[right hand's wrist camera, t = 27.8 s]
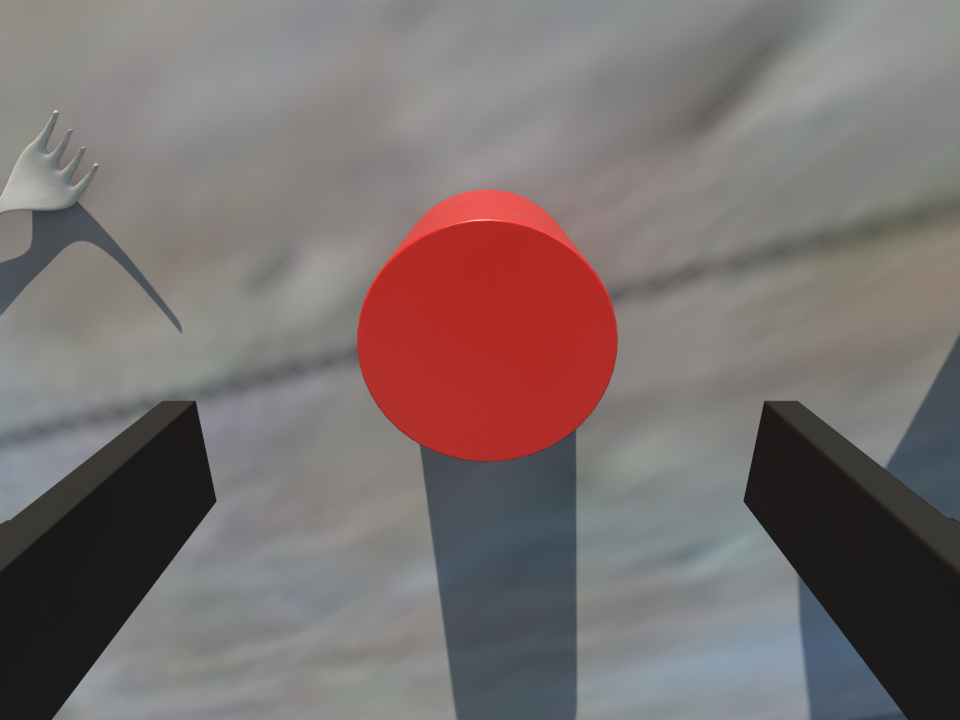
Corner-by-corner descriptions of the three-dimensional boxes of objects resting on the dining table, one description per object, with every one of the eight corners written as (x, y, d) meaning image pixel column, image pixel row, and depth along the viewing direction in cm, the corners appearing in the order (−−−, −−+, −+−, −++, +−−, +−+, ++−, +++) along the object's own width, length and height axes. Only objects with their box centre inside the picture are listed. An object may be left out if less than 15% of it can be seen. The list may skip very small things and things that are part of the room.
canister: (527, 387, 27) (545, 494, 19) (373, 324, 26) (322, 410, 18) (607, 236, 24) (668, 287, 16) (437, 157, 23) (412, 170, 15)
